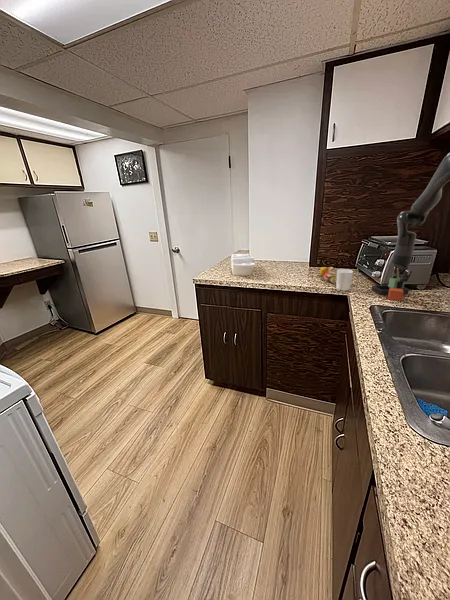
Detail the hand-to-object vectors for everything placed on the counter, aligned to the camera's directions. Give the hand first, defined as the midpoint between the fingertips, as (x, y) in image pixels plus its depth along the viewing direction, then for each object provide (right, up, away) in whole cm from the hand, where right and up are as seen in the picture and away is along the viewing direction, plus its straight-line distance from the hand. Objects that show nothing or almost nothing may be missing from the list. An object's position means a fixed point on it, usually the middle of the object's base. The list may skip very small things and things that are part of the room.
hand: (395, 287), depth 127 cm
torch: (-24, +6, +27) cm, 36 cm away
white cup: (-23, -1, +9) cm, 25 cm away
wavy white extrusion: (-75, +15, +55) cm, 94 cm away
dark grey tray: (-3, -2, +1) cm, 4 cm away
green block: (0, 0, 0) cm, 0 cm away
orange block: (-6, -6, -8) cm, 12 cm away
